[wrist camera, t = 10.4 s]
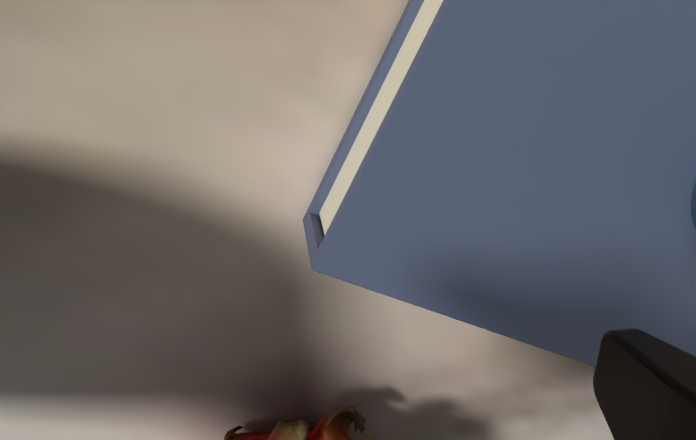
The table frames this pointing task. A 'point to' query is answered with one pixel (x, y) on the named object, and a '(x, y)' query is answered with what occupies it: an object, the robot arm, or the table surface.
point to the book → (525, 171)
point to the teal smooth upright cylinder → (693, 206)
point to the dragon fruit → (309, 428)
